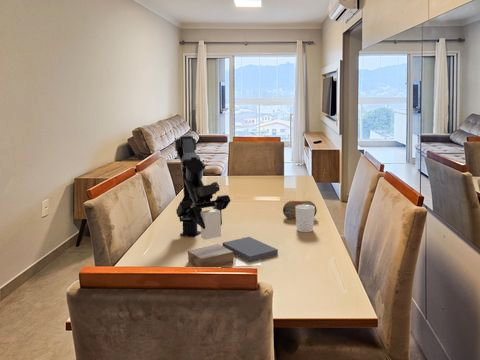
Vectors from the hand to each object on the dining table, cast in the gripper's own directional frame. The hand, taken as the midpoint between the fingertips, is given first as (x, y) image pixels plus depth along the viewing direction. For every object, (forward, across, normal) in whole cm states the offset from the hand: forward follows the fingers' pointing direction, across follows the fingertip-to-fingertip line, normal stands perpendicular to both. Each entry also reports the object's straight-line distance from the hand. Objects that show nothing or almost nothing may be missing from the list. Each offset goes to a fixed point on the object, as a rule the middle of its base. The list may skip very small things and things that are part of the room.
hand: (212, 226), depth 152 cm
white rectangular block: (+2, 0, +4) cm, 4 cm away
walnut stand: (+8, 0, +10) cm, 13 cm away
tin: (-8, +59, +27) cm, 66 cm away
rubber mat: (+7, +16, +11) cm, 21 cm away
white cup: (+2, +50, +17) cm, 52 cm away
